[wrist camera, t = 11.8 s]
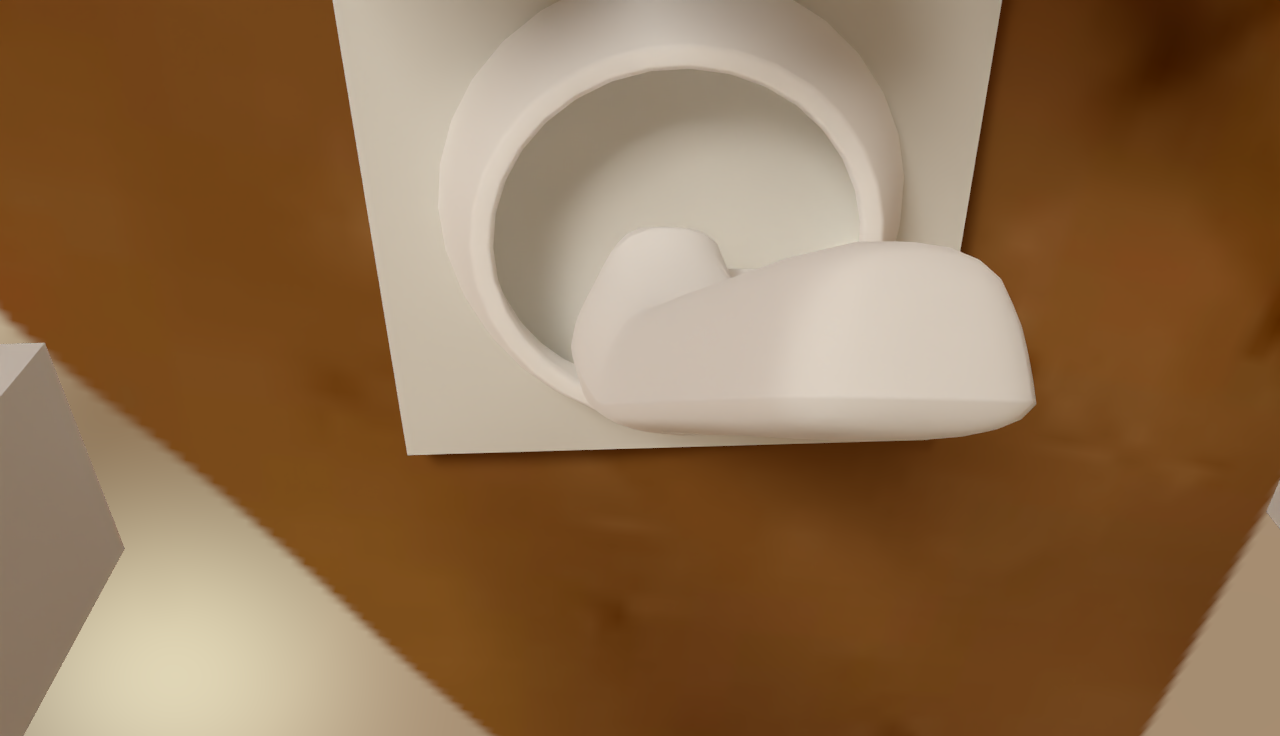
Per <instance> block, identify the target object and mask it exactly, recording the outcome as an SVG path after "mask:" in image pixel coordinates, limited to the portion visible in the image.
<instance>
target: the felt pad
mask: <svg viewBox="0 0 1280 736" xmlns="http://www.w3.org/2000/svg"><path fill="white" fill-rule="evenodd" d="M558 1H560V0H333V5H334V11H335V17H336V23H337V30H338V36H339V42H340V48H341V54H342V60H343V66H344V72H345V78H346V84H347V90H348V96H349V103H350V109H351V115H352V121H353V127H354V133H355V139H356V145H357V151H358V157H359V163H360V169H361V175H362V182H363V188H364V194H365V200H366V206H367V212H368V218H369V224H370V230H371V236H372V242H373V248H374V254H375V261H376V267H377V273H378V279H379V285H380V291H381V297H382V303H383V309H384V315H385V321H386V327H387V334H388V340H389V346H390V352H391V358H392V364H393V370H394V376H395V382H396V388H397V394H398V400H399V406H400V413H401V419H402V425H403V431H404V437H405V443H406V449H407V455H429V454H463V453H497V452H531V451H566V450H600V449H634V448H668V447H702V446H736V445H770V444H804V443H839V442H873V441H829V440H810V439H792V438H773V437H755V436H733V435H668V434H660V433H651V432H644V431H640V430H635V429H631V428H628V427H625V426H623V425H620V424H617V423H615V422H613V421H611V420H610V419H608V418H606V417H604V416H603V415H602V414H600V413H599V412H597V411H596V410H595V409H592V408H590V407H588V406H586V405H584V404H582V403H579V402H577V401H575V400H573V399H571V398H569V397H566V396H564V395H562V394H560V393H559V392H557V391H555V390H554V389H552V388H551V387H549V386H548V385H546V384H545V383H544V382H542V381H541V380H539V379H538V378H536V377H535V376H534V375H532V374H531V373H529V372H528V371H526V370H525V369H524V368H522V367H521V366H520V365H519V364H518V363H517V362H516V361H515V360H514V359H513V358H512V357H511V356H510V355H509V354H508V353H507V352H506V351H505V350H504V349H503V348H502V347H501V346H500V345H499V344H498V343H497V342H496V341H495V340H494V338H493V337H492V336H491V335H490V333H489V332H488V331H487V330H486V328H485V327H484V325H483V324H482V322H481V321H480V319H479V317H478V316H477V314H476V313H475V311H474V310H473V308H472V307H471V305H470V304H469V302H468V301H467V299H466V298H465V296H464V294H463V292H462V290H461V287H460V285H459V282H458V280H457V277H456V275H455V272H454V270H453V267H452V265H451V262H450V260H449V257H448V255H447V252H446V250H445V245H444V239H443V233H442V227H441V222H440V216H439V210H438V197H439V172H440V162H441V158H442V154H443V150H444V146H445V142H446V139H447V135H448V131H449V127H450V123H451V120H452V118H453V116H454V114H455V112H456V110H457V108H458V106H459V104H460V102H461V100H462V98H463V96H464V94H465V92H466V90H467V88H468V86H469V84H470V82H471V80H472V79H473V78H474V76H475V75H476V74H477V73H478V71H479V70H480V69H481V68H482V66H483V65H484V64H485V63H486V61H487V60H488V59H489V58H490V57H491V55H492V54H493V53H494V52H495V50H496V49H497V48H498V47H499V45H500V44H501V43H502V42H503V41H504V40H505V39H507V38H508V37H509V36H510V35H511V34H513V33H514V32H515V31H516V30H518V29H519V28H520V27H521V26H523V25H524V24H525V23H526V22H527V21H529V20H530V19H531V18H532V17H534V16H535V15H536V14H537V13H539V12H540V11H541V10H543V9H545V8H547V7H549V6H551V5H552V4H554V3H556V2H558ZM794 1H795V2H797V3H799V4H800V5H802V6H803V7H805V8H806V9H808V10H810V11H811V12H813V13H814V14H816V15H818V16H819V17H821V18H822V19H824V20H825V21H826V22H827V23H828V24H829V25H830V26H832V27H833V28H834V29H835V30H836V31H837V32H838V33H839V34H840V35H841V36H842V37H843V38H844V39H845V40H846V41H847V42H848V43H849V44H850V45H851V46H852V47H853V48H854V49H855V50H856V51H857V52H858V53H859V55H860V56H861V58H862V59H863V61H864V63H865V64H866V66H867V67H868V69H869V70H870V72H871V74H872V75H873V77H874V78H875V80H876V81H877V83H878V85H879V86H880V88H881V89H882V91H883V92H884V95H885V98H886V101H887V104H888V106H889V109H890V112H891V115H892V117H893V120H894V123H895V126H896V129H897V131H898V134H899V142H900V150H901V157H902V165H903V173H904V183H903V195H902V207H901V219H900V226H899V231H898V234H897V237H896V241H898V242H917V243H924V244H930V245H937V246H944V247H950V248H952V249H955V250H957V251H960V250H961V244H962V238H963V232H964V226H965V220H966V214H967V208H968V202H969V196H970V190H971V184H972V178H973V172H974V166H975V160H976V154H977V148H978V142H979V136H980V130H981V124H982V118H983V112H984V106H985V100H986V94H987V88H988V82H989V76H990V70H991V64H992V58H993V52H994V46H995V40H996V34H997V28H998V22H999V16H1000V10H1001V4H1002V0H794ZM641 227H680V228H687V229H691V230H695V231H699V232H703V233H704V234H706V235H707V236H708V237H710V238H711V239H712V240H714V241H715V242H716V243H717V245H718V247H719V249H720V252H721V254H722V257H723V259H724V262H725V264H726V267H727V268H728V269H757V268H760V267H763V266H766V265H769V264H771V263H774V262H777V261H780V260H783V259H785V258H789V257H793V256H797V255H802V254H806V253H810V252H814V251H819V250H823V249H827V248H831V247H836V246H840V245H844V244H848V243H853V242H859V232H860V220H859V213H858V207H857V201H856V194H855V189H854V187H853V184H852V182H851V179H850V177H849V174H848V172H847V169H846V167H845V164H844V162H843V159H842V158H841V156H840V155H839V153H838V152H837V150H836V149H835V147H834V146H833V144H832V143H831V141H830V140H829V139H828V137H827V136H826V134H825V133H824V131H823V130H822V129H821V128H820V127H819V126H818V125H817V124H816V123H815V122H814V121H812V120H811V119H810V118H809V117H808V116H807V115H806V114H805V113H804V112H803V111H802V110H801V109H800V108H799V107H798V106H796V105H795V104H793V103H791V102H790V101H788V100H786V99H785V98H783V97H781V96H780V95H778V94H776V93H775V92H773V91H771V90H770V89H768V88H766V87H765V86H762V85H759V84H756V83H753V82H750V81H748V80H745V79H742V78H739V77H736V76H733V75H730V74H726V73H718V72H711V71H703V70H696V69H677V70H662V71H649V72H645V73H642V74H638V75H634V76H630V77H627V78H623V79H619V80H615V81H612V82H610V83H608V84H606V85H604V86H602V87H599V88H597V89H595V90H593V91H591V92H589V93H587V94H585V95H583V96H581V97H579V98H577V99H576V100H574V101H573V102H572V103H570V104H569V105H568V106H567V107H565V108H564V109H563V110H561V111H560V112H559V113H557V114H556V115H555V116H554V117H552V118H551V119H550V120H548V121H547V122H546V123H545V124H544V125H543V127H542V128H541V129H540V130H539V131H538V132H537V134H536V135H535V136H534V137H533V138H532V139H531V141H530V142H529V143H528V144H527V145H526V146H525V147H524V149H523V150H522V152H521V153H520V155H519V157H518V159H517V161H516V163H515V164H514V166H513V168H512V170H511V172H510V173H509V175H508V177H507V179H506V181H505V184H504V187H503V191H502V194H501V197H500V201H499V204H498V207H497V211H496V215H495V229H494V242H493V249H494V256H495V263H496V270H497V277H498V281H499V284H500V286H501V289H502V292H503V294H504V296H505V298H506V299H507V301H508V302H509V304H510V305H511V307H512V309H513V310H514V312H515V313H516V315H517V317H518V318H519V320H520V321H521V323H522V324H523V325H524V326H525V327H526V328H527V329H528V330H529V331H530V332H531V333H532V334H533V335H534V336H535V337H536V338H537V339H538V340H539V342H541V343H542V344H543V345H545V346H546V347H548V348H549V349H550V350H552V351H553V352H555V353H556V354H557V355H559V356H560V357H562V358H563V359H565V360H567V361H569V362H571V363H573V364H574V361H573V357H572V351H571V343H572V338H573V333H574V328H575V323H576V320H577V318H578V315H579V313H580V310H581V308H582V306H583V304H584V302H585V300H586V298H587V296H588V294H589V292H590V290H591V289H592V287H593V285H594V283H595V281H596V279H597V277H598V275H599V273H600V271H601V269H602V267H603V265H604V263H605V261H606V260H607V258H608V256H609V254H610V253H611V251H612V250H613V249H614V247H615V246H616V244H617V243H618V242H619V241H620V240H621V239H622V238H623V237H624V236H625V235H626V234H627V233H630V232H632V231H634V230H636V229H638V228H641ZM920 440H929V439H920ZM895 441H907V440H895Z"/></svg>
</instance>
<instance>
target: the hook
mask: <svg viewBox="0 0 1280 736" xmlns="http://www.w3.org/2000/svg"><path fill="white" fill-rule="evenodd" d="M677 69H696V70H703V71H711V72H718V73H726V74H730V75H733V76H736V77H739V78H742V79H745V80H748V81H750V82H753V83H756V84H759V85H762V86H765V87H766V88H768V89H770V90H771V91H773V92H775V93H776V94H778V95H780V96H781V97H783V98H785V99H786V100H788V101H790V102H791V103H793V104H795V105H796V106H798V107H799V108H800V109H801V110H802V111H803V112H804V113H805V114H806V115H807V116H808V117H809V118H810V119H811V120H812V121H814V122H815V123H816V124H817V125H818V126H819V127H820V128H821V129H822V130H823V131H824V133H825V134H826V136H827V137H828V139H829V140H830V141H831V143H832V144H833V146H834V147H835V149H836V150H837V152H838V153H839V155H840V156H841V158H842V159H843V162H844V164H845V167H846V169H847V172H848V174H849V177H850V179H851V182H852V184H853V187H854V189H855V194H856V201H857V207H858V213H859V220H860V232H859V242H853V243H848V244H844V245H840V246H836V247H831V248H827V249H823V250H819V251H814V252H810V253H806V254H802V255H797V256H793V257H789V258H785V259H783V260H780V261H777V262H774V263H771V264H769V265H766V266H763V267H760V268H757V269H728V268H727V267H726V264H725V262H724V259H723V257H722V254H721V252H720V249H719V247H718V245H717V243H716V242H715V241H714V240H712V239H711V238H710V237H708V236H707V235H706V234H704V233H703V232H699V231H695V230H691V229H687V228H680V227H641V228H638V229H636V230H634V231H632V232H630V233H627V234H626V235H625V236H624V237H623V238H622V239H621V240H620V241H619V242H618V243H617V244H616V246H615V247H614V249H613V250H612V251H611V253H610V254H609V256H608V258H607V260H606V261H605V263H604V265H603V267H602V269H601V271H600V273H599V275H598V277H597V279H596V281H595V283H594V285H593V287H592V289H591V290H590V292H589V294H588V296H587V298H586V300H585V302H584V304H583V306H582V308H581V310H580V313H579V315H578V318H577V320H576V323H575V328H574V333H573V338H572V343H571V351H572V357H573V361H574V364H573V363H571V362H569V361H567V360H565V359H563V358H562V357H560V356H559V355H557V354H556V353H555V352H553V351H552V350H550V349H549V348H548V347H546V346H545V345H543V344H542V343H541V342H539V340H538V339H537V338H536V337H535V336H534V335H533V334H532V333H531V332H530V331H529V330H528V329H527V328H526V327H525V326H524V325H523V324H522V323H521V321H520V320H519V318H518V317H517V315H516V313H515V312H514V310H513V309H512V307H511V305H510V304H509V302H508V301H507V299H506V298H505V296H504V294H503V292H502V289H501V286H500V284H499V281H498V277H497V270H496V263H495V256H494V249H493V242H494V229H495V215H496V211H497V207H498V204H499V201H500V197H501V194H502V191H503V187H504V184H505V181H506V179H507V177H508V175H509V173H510V172H511V170H512V168H513V166H514V164H515V163H516V161H517V159H518V157H519V155H520V153H521V152H522V150H523V149H524V147H525V146H526V145H527V144H528V143H529V142H530V141H531V139H532V138H533V137H534V136H535V135H536V134H537V132H538V131H539V130H540V129H541V128H542V127H543V125H544V124H545V123H546V122H547V121H548V120H550V119H551V118H552V117H554V116H555V115H556V114H557V113H559V112H560V111H561V110H563V109H564V108H565V107H567V106H568V105H569V104H570V103H572V102H573V101H574V100H576V99H577V98H579V97H581V96H583V95H585V94H587V93H589V92H591V91H593V90H595V89H597V88H599V87H602V86H604V85H606V84H608V83H610V82H612V81H615V80H619V79H623V78H627V77H630V76H634V75H638V74H642V73H645V72H649V71H662V70H677ZM903 183H904V173H903V165H902V157H901V150H900V142H899V134H898V131H897V129H896V126H895V123H894V120H893V117H892V115H891V112H890V109H889V106H888V104H887V101H886V98H885V95H884V92H883V91H882V89H881V88H880V86H879V85H878V83H877V81H876V80H875V78H874V77H873V75H872V74H871V72H870V70H869V69H868V67H867V66H866V64H865V63H864V61H863V59H862V58H861V56H860V55H859V53H858V52H857V51H856V50H855V49H854V48H853V47H852V46H851V45H850V44H849V43H848V42H847V41H846V40H845V39H844V38H843V37H842V36H841V35H840V34H839V33H838V32H837V31H836V30H835V29H834V28H833V27H832V26H830V25H829V24H828V23H827V22H826V21H825V20H824V19H822V18H821V17H819V16H818V15H816V14H814V13H813V12H811V11H810V10H808V9H806V8H805V7H803V6H802V5H800V4H799V3H797V2H795V1H794V0H560V1H558V2H556V3H554V4H552V5H551V6H549V7H547V8H545V9H543V10H541V11H540V12H539V13H537V14H536V15H535V16H534V17H532V18H531V19H530V20H529V21H527V22H526V23H525V24H524V25H523V26H521V27H520V28H519V29H518V30H516V31H515V32H514V33H513V34H511V35H510V36H509V37H508V38H507V39H505V40H504V41H503V42H502V43H501V44H500V45H499V47H498V48H497V49H496V50H495V52H494V53H493V54H492V55H491V57H490V58H489V59H488V60H487V61H486V63H485V64H484V65H483V66H482V68H481V69H480V70H479V71H478V73H477V74H476V75H475V76H474V78H473V79H472V80H471V82H470V84H469V86H468V88H467V90H466V92H465V94H464V96H463V98H462V100H461V102H460V104H459V106H458V108H457V110H456V112H455V114H454V116H453V118H452V120H451V123H450V127H449V131H448V135H447V139H446V142H445V146H444V150H443V154H442V158H441V162H440V172H439V197H438V210H439V216H440V222H441V227H442V233H443V239H444V245H445V250H446V252H447V255H448V257H449V260H450V262H451V265H452V267H453V270H454V272H455V275H456V277H457V280H458V282H459V285H460V287H461V290H462V292H463V294H464V296H465V298H466V299H467V301H468V302H469V304H470V305H471V307H472V308H473V310H474V311H475V313H476V314H477V316H478V317H479V319H480V321H481V322H482V324H483V325H484V327H485V328H486V330H487V331H488V332H489V333H490V335H491V336H492V337H493V338H494V340H495V341H496V342H497V343H498V344H499V345H500V346H501V347H502V348H503V349H504V350H505V351H506V352H507V353H508V354H509V355H510V356H511V357H512V358H513V359H514V360H515V361H516V362H517V363H518V364H519V365H520V366H521V367H522V368H524V369H525V370H526V371H528V372H529V373H531V374H532V375H534V376H535V377H536V378H538V379H539V380H541V381H542V382H544V383H545V384H546V385H548V386H549V387H551V388H552V389H554V390H555V391H557V392H559V393H560V394H562V395H564V396H566V397H569V398H571V399H573V400H575V401H577V402H579V403H582V404H584V405H586V406H588V407H590V408H592V409H595V410H596V411H597V412H599V413H600V414H602V415H603V416H604V417H606V418H608V419H610V420H611V421H613V422H615V423H617V424H620V425H623V426H625V427H628V428H631V429H635V430H640V431H644V432H651V433H660V434H668V435H733V436H755V437H773V438H792V439H810V440H829V441H895V440H920V439H941V438H953V437H962V436H967V435H972V434H977V433H983V432H987V431H992V430H996V429H999V428H1001V427H1004V426H1006V425H1009V424H1011V423H1014V422H1016V421H1019V420H1021V419H1022V418H1023V417H1024V416H1025V415H1026V414H1027V413H1028V412H1029V411H1030V410H1031V409H1032V408H1033V407H1034V406H1035V405H1036V398H1035V391H1034V383H1033V377H1032V371H1031V366H1030V361H1029V355H1028V351H1027V346H1026V342H1025V338H1024V334H1023V329H1022V326H1021V323H1020V321H1019V318H1018V316H1017V313H1016V311H1015V308H1014V306H1013V303H1012V301H1011V299H1010V297H1009V295H1008V292H1007V290H1006V288H1005V286H1004V284H1003V282H1002V280H1001V278H1000V277H998V276H997V275H996V274H995V273H994V272H993V271H992V270H991V269H989V268H988V267H987V266H986V265H985V264H984V263H983V262H981V261H980V260H979V259H976V258H974V257H972V256H969V255H967V254H964V253H962V252H960V251H957V250H955V249H952V248H950V247H944V246H937V245H930V244H924V243H917V242H898V241H896V237H897V234H898V231H899V226H900V219H901V207H902V195H903Z"/></svg>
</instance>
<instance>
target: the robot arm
mask: <svg viewBox="0 0 1280 736" xmlns="http://www.w3.org/2000/svg"><path fill="white" fill-rule="evenodd" d="M1267 513H1268V515H1269V516H1270V517H1271V518H1272V520H1273V521H1274V522H1275V523H1276V525H1277V526H1278V527H1279V528H1280V481H1279V483H1278V486H1277V488H1276V490H1275V493H1274V495H1273V497H1272V500H1271V502H1270V504H1269V507H1268V509H1267ZM123 551H124V546H123V543H122V541H121V538H120V535H119V533H118V530H117V528H116V525H115V522H114V520H113V517H112V515H111V512H110V510H109V507H108V504H107V502H106V499H105V497H104V494H103V492H102V489H101V487H100V484H99V481H98V479H97V476H96V474H95V471H94V469H93V466H92V463H91V461H90V458H89V456H88V453H87V450H86V448H85V445H84V443H83V440H82V437H81V435H80V432H79V430H78V427H77V425H76V422H75V420H74V417H73V414H72V412H71V409H70V407H69V404H68V401H67V399H66V396H65V394H64V391H63V388H62V386H61V383H60V381H59V378H58V376H57V373H56V370H55V368H54V365H53V363H52V360H51V358H50V355H49V352H48V350H47V347H46V345H45V343H24V344H0V736H23V735H24V733H25V731H26V730H27V728H28V726H29V724H30V722H31V720H32V719H33V717H34V715H35V713H36V711H37V709H38V708H39V706H40V704H41V702H42V700H43V698H44V697H45V695H46V692H47V691H48V689H49V687H50V685H51V684H52V682H53V680H54V678H55V676H56V674H57V673H58V671H59V669H60V667H61V665H62V663H63V661H64V660H65V657H66V656H67V654H68V652H69V650H70V648H71V647H72V645H73V643H74V641H75V639H76V637H77V636H78V634H79V632H80V630H81V628H82V626H83V624H84V622H85V621H86V619H87V617H88V615H89V613H90V612H91V610H92V607H93V606H94V604H95V602H96V600H97V599H98V597H99V595H100V593H101V591H102V589H103V588H104V586H105V584H106V582H107V580H108V578H109V576H110V575H111V573H112V571H113V569H114V567H115V565H116V564H117V562H118V560H119V558H120V556H121V554H122V553H123Z"/></svg>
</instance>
